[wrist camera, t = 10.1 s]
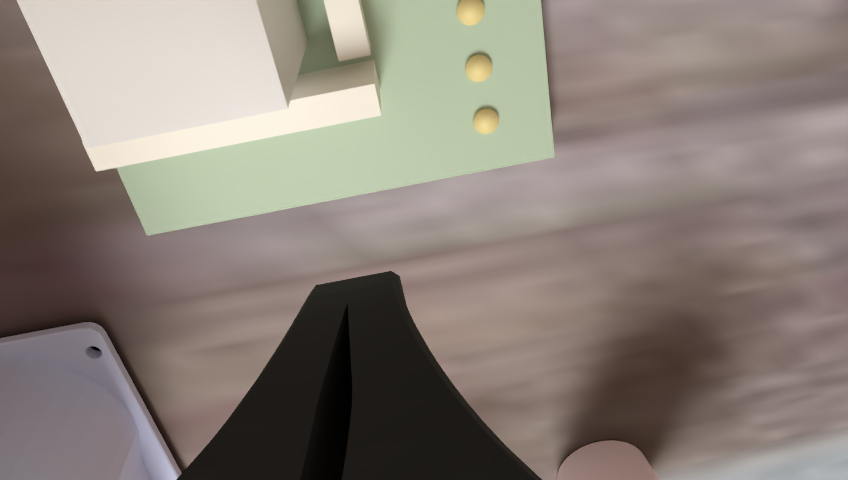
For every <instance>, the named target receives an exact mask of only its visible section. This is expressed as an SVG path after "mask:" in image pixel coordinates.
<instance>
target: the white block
mask: <svg viewBox="0 0 848 480" xmlns="http://www.w3.org/2000/svg"><path fill="white" fill-rule="evenodd" d="M17 2H18V5H19V7H20V9H21V11H22V13H23V15H24V17H25V19H26V22H27V24H28V26H29V28H30V30H31V32H32V34H33V36H34V38H35V41H36V43H37V45H38V47H39V49H40V51H41V53H42V55H43V58H44V60H45V62H46V64H47V66H48V68H49V70H50V72H51V75H52V77H53V79H54V81H55V83H56V85H57V87H58V89H59V91H60V94H61V96H62V98H63V100H64V102H65V104H66V106H67V108H68V111H69V113H70V115H71V117H72V119H73V121H74V123H75V125H76V128H77V130H78V132H79V134H80V136H81V138H82V140H83V142H84V145H85V147H86V149H87V148H92V147H97V146H102V145H107V144H112V143H117V142H122V141H127V140H132V139H137V138H143V137H148V136H153V135H158V134H163V133H168V132H173V131H178V130H183V129H188V128H193V127H198V126H203V125H208V124H213V123H219V122H224V121H229V120H234V119H239V118H244V117H249V116H254V115H259V114H264V113H269V112H274V111H279V110H284V109H288V107H289V104H290V100H291V97H292V93H293V90H294V87H295V83H296V80H297V76H298V73H299V69H300V66H301V62H302V59H303V55H304V52H305V48H306V45H307V42H308V40H307V36H306V33H305V29H304V25H303V21H302V18H301V14H300V10H299V6H298V3H297V0H17Z"/></svg>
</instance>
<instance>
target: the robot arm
mask: <svg viewBox="0 0 848 480" xmlns="http://www.w3.org/2000/svg"><path fill="white" fill-rule="evenodd" d="M90 346H95V347H97V348H99V349H100V350H101V351H96V350H94V349H92V348H91V347H90ZM0 480H542V479H541V478H539V477H538V476H537V475H536V474H535V473H534V472H533V471H532V470H531V469H530V468H529V467H528V466H527V465H526V464H525V463H523V462H522V461H521V460H520V459H519V458H518V457H517V456H516V455H515V454H514V453H513V452H512V451H511V450H510V449H509V448H508V447H507V446H506V445H505V444H504V443H503V442H502V441H501V440H500V439H499V438H498V437H497V436H496V435H495V434H494V433H493V432H492V430H491V429H490V428H489V427H488V426H487V425H486V424H485V423H484V422H483V421H482V419H481V418H480V417H479V416H478V415H477V414H476V412H475V411H474V410H473V409H472V408H471V407H470V405H469V404H468V403H467V402H466V400H465V399H464V398H463V397H462V395H461V394H460V393H459V392H458V390H457V389H456V388H455V386H454V385H453V384H452V382H451V381H450V379H449V378H448V377H447V375H446V374H445V372H444V371H443V370H442V368H441V367H440V365H439V364H438V362H437V361H436V359H435V358H434V356H433V355H432V353H431V351H430V350H429V348H428V346H427V345H426V343H425V341H424V339H423V338H422V336H421V334H420V333H419V331H418V329H417V327H416V325H415V323H414V321H413V319H412V317H411V315H410V313H409V311H408V308H407V306H406V301H405V297H404V293H403V289H402V285H401V280H400V276H399V275H397V274H395V273H394V272H392V271H389V272H384V273H378V274H373V275H368V276H362V277H357V278H352V279H347V280H341V281H336V282H331V283H325V284H320V285H316V286H315V287H314V289H313V290H312V291H311V293H310V295H309V296H308V298H307V300H306V301H305V303H304V305H303V306H302V308H301V310H300V312H299V313H298V315H297V317H296V318H295V320H294V322H293V323H292V325H291V327H290V328H289V330H288V332H287V333H286V335H285V337H284V338H283V340H282V342H281V343H280V345H279V346H278V348H277V349H276V351H275V352H274V354H273V356H272V357H271V359H270V360H269V362H268V363H267V365H266V366H265V368H264V370H263V371H262V373H261V374H260V376H259V377H258V379H257V380H256V381H255V383H254V384H253V386H252V387H251V388H250V390H249V391H248V393H247V394H246V395H245V397H244V398H243V399H242V401H241V402H240V404H239V405H238V406H237V408H236V409H235V410H234V412H233V413H232V415H231V416H230V417H229V419H228V420H227V421H226V423H225V424H224V425H223V426H222V428H221V429H220V430H219V431H218V433H217V434H216V435H215V436H214V438H213V439H212V440H211V441H210V442H209V444H208V445H207V446H206V447H205V448H204V449H203V450H202V452H201V453H200V454H199V455H198V456H197V457H196V458H195V459H194V461H193V462H192V463H191V464H190V465H189V466H188V467H187V469H186V470H185V471H184V472H183V473H181V471H180V469H179V467H178V465H177V464H176V462H175V460H174V458H173V456H172V454H171V452H170V450H169V449H168V447H167V445H166V443H165V441H164V439H163V437H162V436H161V434H160V432H159V430H158V428H157V426H156V424H155V423H154V421H153V419H152V417H151V415H150V413H149V411H148V409H147V408H146V406H145V404H144V402H143V400H142V398H141V396H140V395H139V393H138V391H137V389H136V387H135V385H134V383H133V382H132V380H131V378H130V376H129V374H128V372H127V370H126V368H125V367H124V365H123V363H122V361H121V359H120V357H119V355H118V354H117V352H116V350H115V348H114V346H113V344H112V342H111V341H110V339H109V337H108V335H107V333H106V331H105V330H104V329H103V328H102V327H101V326H99V325H98V324H96V323H92V322H83V323H78V324H73V325H67V326H62V327H57V328H52V329H46V330H41V331H36V332H30V333H25V334H20V335H15V336H9V337H4V338H0Z"/></svg>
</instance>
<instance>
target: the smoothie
mask: <svg viewBox="0 0 848 480" xmlns="http://www.w3.org/2000/svg"><path fill="white" fill-rule="evenodd" d="M557 480H659V479H658V477H657V476H656V474H655V472H654V471H653V469H652V468H651V466H650V464H649V463H648V461H647V460H646V458H645V456H644V455H643V453H642V452H641V451H640V450H639V449H638V448H637V447H635V446H633V445H631V444H629V443H626V442H622V441H614V440H609V441H600V442H595V443H591V444H588V445H586V446H583V447H581V448H579V449H578V450H576V451H574V452H573V453H572V454H570V455H569V456H568V457H567V458H566V459H565V460H564V462H563V463H562V464H561V466H560V468H559V471H558V474H557Z"/></svg>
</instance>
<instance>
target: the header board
mask: <svg viewBox="0 0 848 480" xmlns="http://www.w3.org/2000/svg"><path fill="white" fill-rule="evenodd" d="M297 3H298V6H299V10H300V14H301V18H302V21H303V25H304V29H305V33H306V36H307V40H308V42H307V45H306V48H305V52H304V55H303V59H302V62H301V66H300V69H299V73H298V76H297V80H296V83H295V87H294V90H293V93H292V97H291V100H290V104H289V107H288V109H284V110H279V111H274V112H269V113H264V114H259V115H254V116H249V117H244V118H239V119H234V120H229V121H224V122H219V123H213V124H208V125H203V126H198V127H193V128H188V129H183V130H178V131H173V132H168V133H163V134H158V135H153V136H148V137H143V138H137V139H132V140H127V141H122V142H117V143H112V144H107V145H102V146H97V147H92V148H87V149H86V147H85V145H84V142H83V141H82V143H83V145H84V147H85V149H86V151H87V154H88V156H89V158H90V160H91V162H92V164H93V166H94V168H95V170H96V172H97V171H102V170H107V169H112V168H117V171H118V173H119V175H120V177H121V179H122V182H123V184H124V186H125V188H126V190H127V193H128V195H129V197H130V199H131V201H132V204H133V206H134V208H135V210H136V212H137V215H138V217H139V219H140V221H141V223H142V226H143V228H144V230H145V232H146V234H147V236H148V235H154V234H159V233H164V232H169V231H174V230H180V229H185V228H190V227H195V226H200V225H206V224H211V223H216V222H221V221H226V220H231V219H237V218H242V217H247V216H252V215H257V214H263V213H268V212H273V211H278V210H283V209H288V208H294V207H299V206H304V205H309V204H314V203H320V202H325V201H330V200H335V199H340V198H345V197H351V196H356V195H361V194H366V193H371V192H377V191H382V190H387V189H392V188H397V187H402V186H408V185H413V184H418V183H423V182H428V181H434V180H439V179H444V178H449V177H454V176H460V175H465V174H470V173H475V172H480V171H485V170H491V169H496V168H501V167H506V166H511V165H517V164H522V163H527V162H532V161H537V160H542V159H548V158H553V157H554V146H553V134H552V122H551V111H550V99H549V88H548V76H547V65H546V53H545V42H544V30H543V19H542V7H541V0H297Z"/></svg>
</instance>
